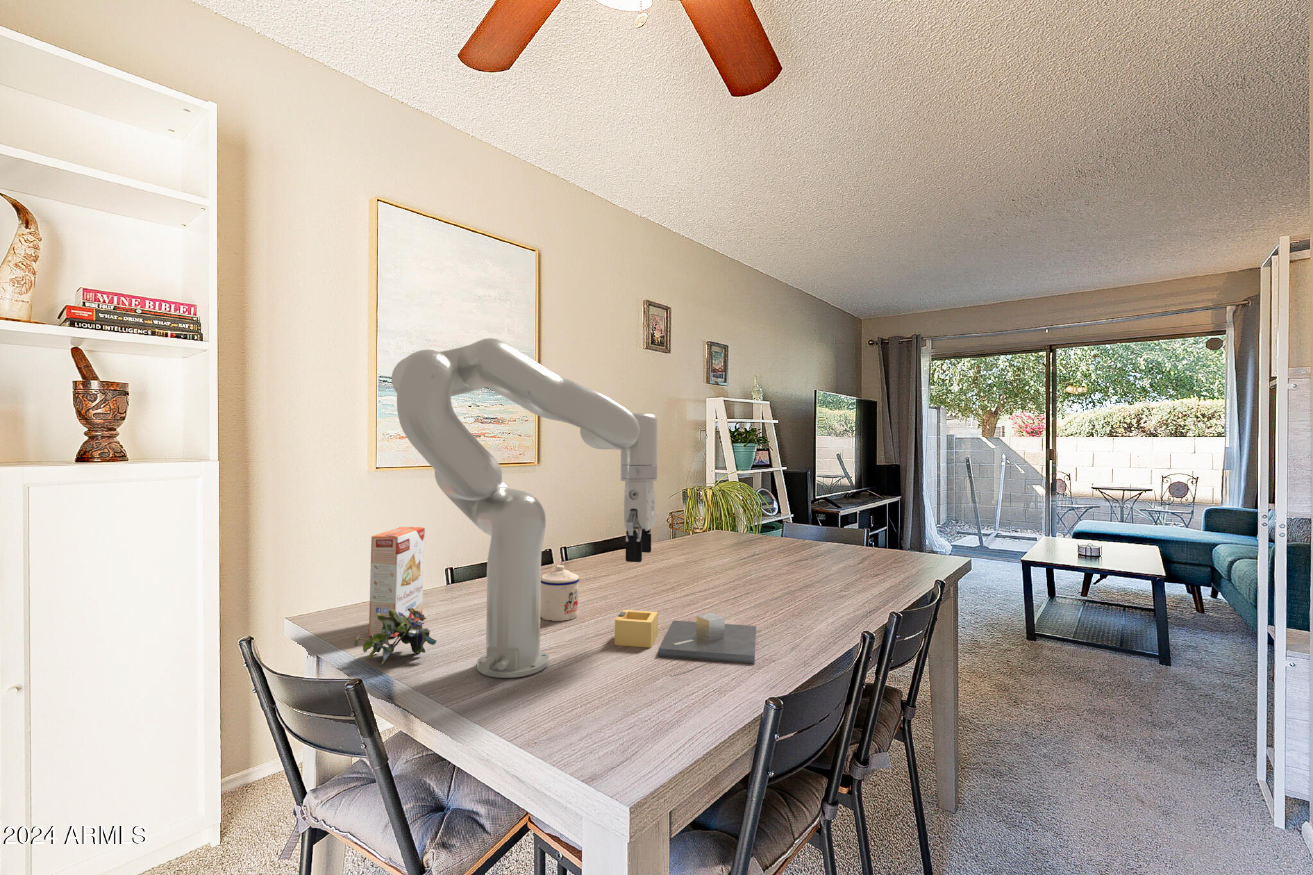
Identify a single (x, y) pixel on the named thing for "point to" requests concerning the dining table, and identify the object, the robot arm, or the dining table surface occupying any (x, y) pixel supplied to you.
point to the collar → (636, 628)
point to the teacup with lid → (559, 595)
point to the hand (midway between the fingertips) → (638, 556)
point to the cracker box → (396, 574)
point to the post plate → (710, 640)
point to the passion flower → (407, 632)
